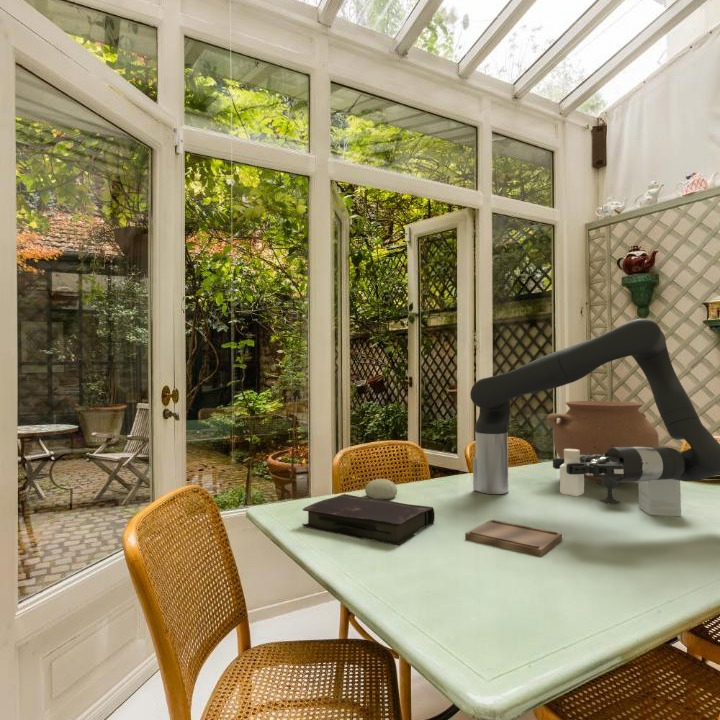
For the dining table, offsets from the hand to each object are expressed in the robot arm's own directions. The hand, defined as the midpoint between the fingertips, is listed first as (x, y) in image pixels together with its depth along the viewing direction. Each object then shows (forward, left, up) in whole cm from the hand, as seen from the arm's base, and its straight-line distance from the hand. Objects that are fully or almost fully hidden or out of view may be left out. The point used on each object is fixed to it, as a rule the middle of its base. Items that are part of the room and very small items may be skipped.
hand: (560, 466), depth 109 cm
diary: (-37, -20, -15) cm, 45 cm away
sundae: (+1, +36, -15) cm, 39 cm away
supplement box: (+13, +33, -15) cm, 38 cm away
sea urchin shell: (-51, +3, -15) cm, 53 cm away
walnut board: (-7, -9, -15) cm, 19 cm away
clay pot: (-6, +59, -15) cm, 61 cm away
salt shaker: (+2, +2, -6) cm, 7 cm away
